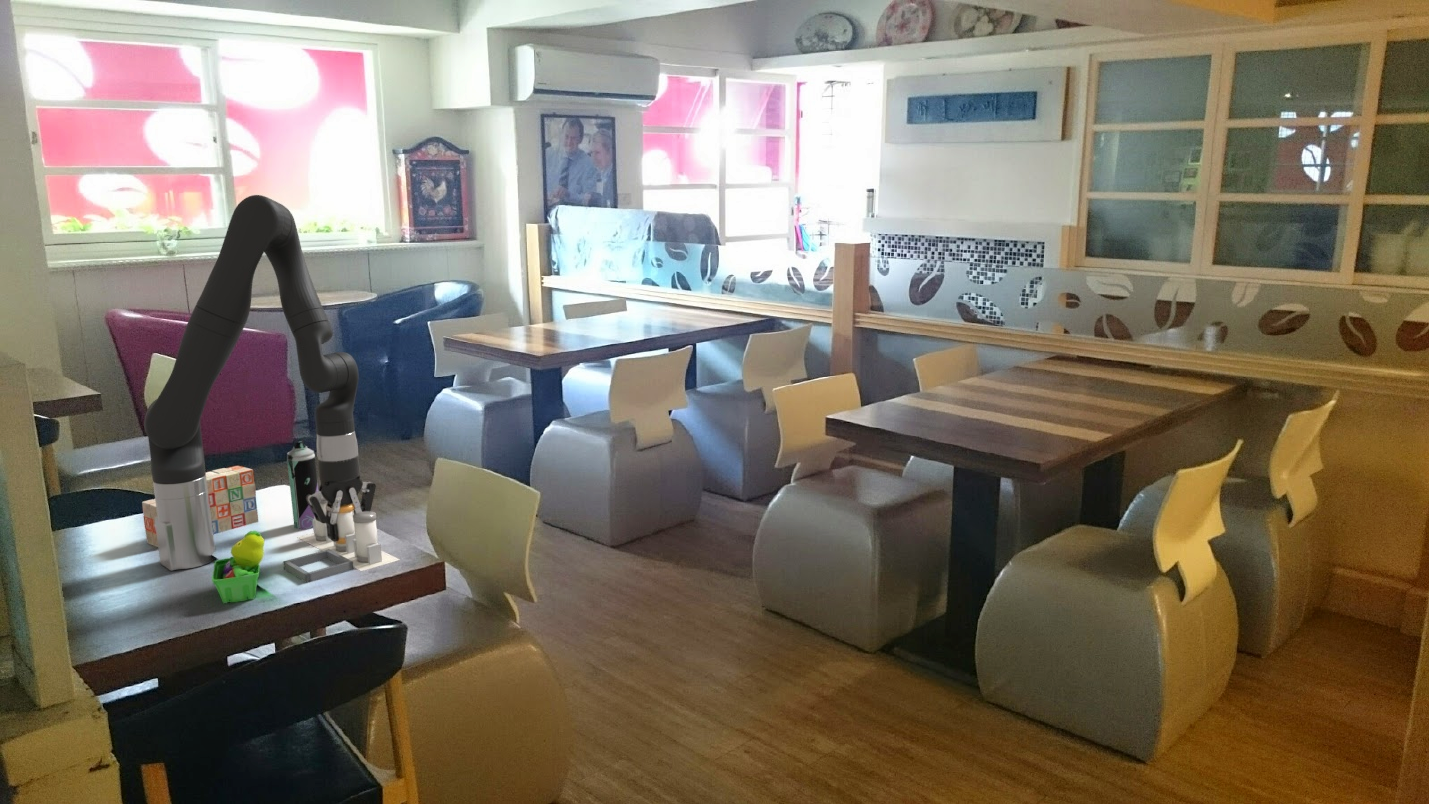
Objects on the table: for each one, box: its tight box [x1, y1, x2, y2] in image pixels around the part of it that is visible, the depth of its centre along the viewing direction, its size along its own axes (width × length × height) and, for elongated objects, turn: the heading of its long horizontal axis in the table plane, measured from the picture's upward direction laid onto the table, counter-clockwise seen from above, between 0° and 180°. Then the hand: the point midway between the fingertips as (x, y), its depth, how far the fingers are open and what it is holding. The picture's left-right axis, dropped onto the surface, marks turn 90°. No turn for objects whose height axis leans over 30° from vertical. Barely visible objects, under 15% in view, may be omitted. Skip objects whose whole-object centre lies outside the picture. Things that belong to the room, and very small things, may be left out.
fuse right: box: [353, 511, 379, 563], centre depth 197 cm, size 4×4×9 cm
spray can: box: [286, 440, 319, 530], centre depth 217 cm, size 6×6×20 cm
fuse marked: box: [332, 503, 355, 552], centre depth 204 cm, size 4×4×9 cm
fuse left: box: [314, 496, 327, 541], centre depth 210 cm, size 4×4×9 cm
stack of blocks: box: [141, 465, 259, 548], centre depth 219 cm, size 21×6×12 cm, turn 144°
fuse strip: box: [297, 519, 401, 572], centre depth 204 cm, size 8×28×5 cm, turn 45°
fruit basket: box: [211, 530, 265, 604], centre depth 186 cm, size 11×9×11 cm
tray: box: [282, 549, 355, 583], centre depth 194 cm, size 9×10×3 cm
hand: (345, 537), depth 204 cm, fingers closed on fuse marked, 4 cm apart
